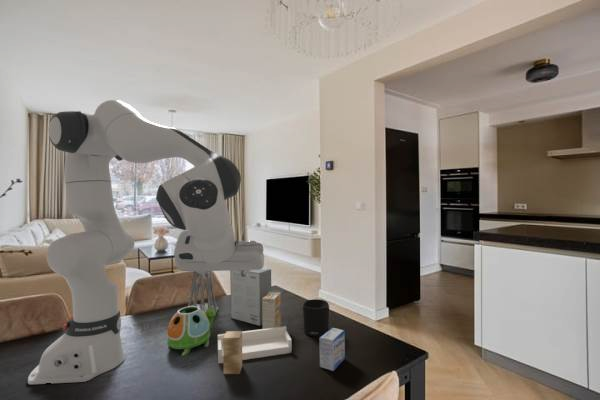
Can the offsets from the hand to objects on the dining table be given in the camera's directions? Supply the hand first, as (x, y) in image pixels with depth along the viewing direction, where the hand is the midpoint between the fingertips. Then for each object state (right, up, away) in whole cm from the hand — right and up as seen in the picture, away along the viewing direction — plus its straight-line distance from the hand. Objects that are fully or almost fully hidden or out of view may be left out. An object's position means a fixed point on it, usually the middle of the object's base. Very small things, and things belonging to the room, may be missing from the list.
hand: (226, 274), depth 79 cm
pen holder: (+24, -28, +32) cm, 49 cm away
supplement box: (+9, -28, +33) cm, 44 cm away
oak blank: (0, -29, +8) cm, 30 cm away
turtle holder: (-17, -29, +23) cm, 41 cm away
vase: (-23, -28, +52) cm, 63 cm away
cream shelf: (+4, -28, +18) cm, 34 cm away
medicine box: (+28, -28, +11) cm, 42 cm away
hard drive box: (-1, -28, +44) cm, 52 cm away
